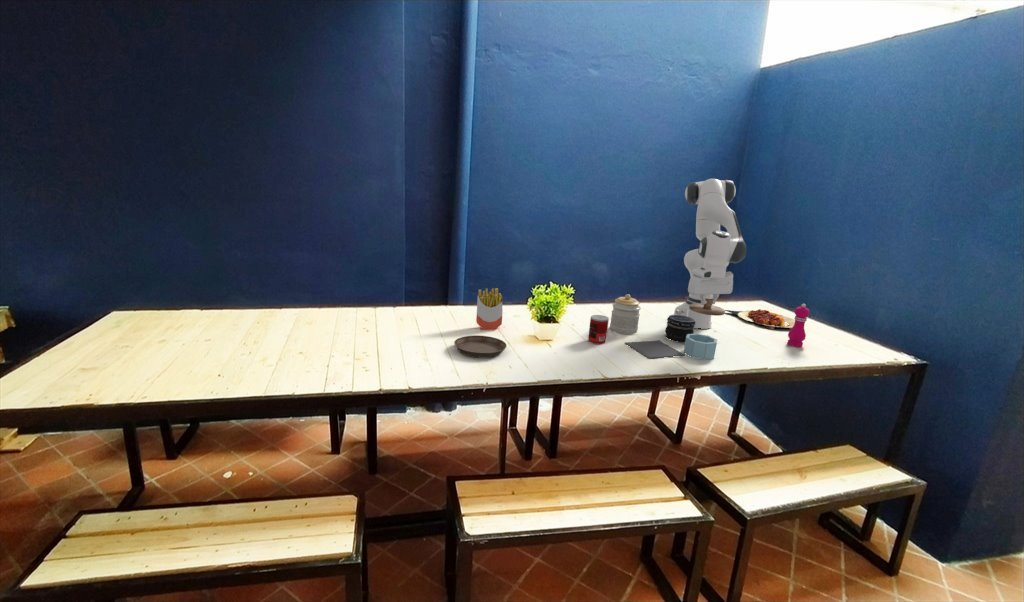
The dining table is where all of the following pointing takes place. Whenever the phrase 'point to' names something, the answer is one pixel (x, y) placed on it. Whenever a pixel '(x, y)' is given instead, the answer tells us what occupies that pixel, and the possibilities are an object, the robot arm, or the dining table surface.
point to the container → (679, 327)
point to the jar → (625, 315)
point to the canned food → (598, 329)
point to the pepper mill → (798, 327)
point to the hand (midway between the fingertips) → (707, 304)
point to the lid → (707, 308)
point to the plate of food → (765, 318)
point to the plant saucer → (480, 346)
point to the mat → (654, 349)
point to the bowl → (700, 346)
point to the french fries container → (489, 310)
